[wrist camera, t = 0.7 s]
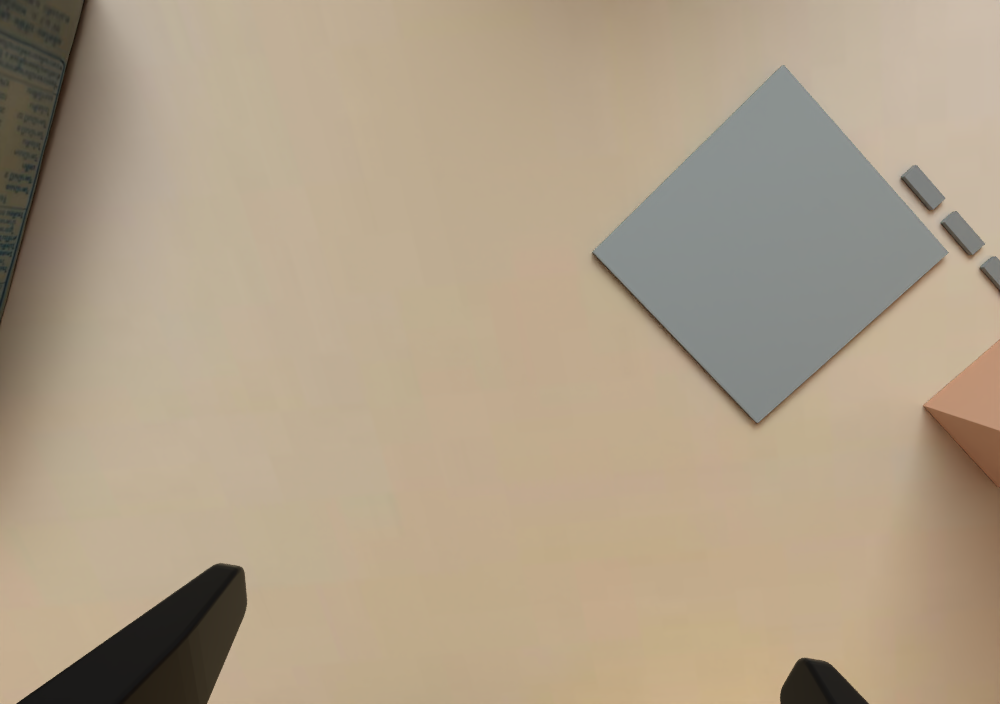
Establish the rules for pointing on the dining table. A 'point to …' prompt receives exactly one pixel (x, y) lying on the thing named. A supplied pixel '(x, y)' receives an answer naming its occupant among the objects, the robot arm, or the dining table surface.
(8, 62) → the beverage carton
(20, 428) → the dining table surface
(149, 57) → the dining table surface
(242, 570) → the robot arm
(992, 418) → the stub
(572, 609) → the dining table surface
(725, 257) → the coaster
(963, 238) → the perforation marks
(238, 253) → the dining table surface
